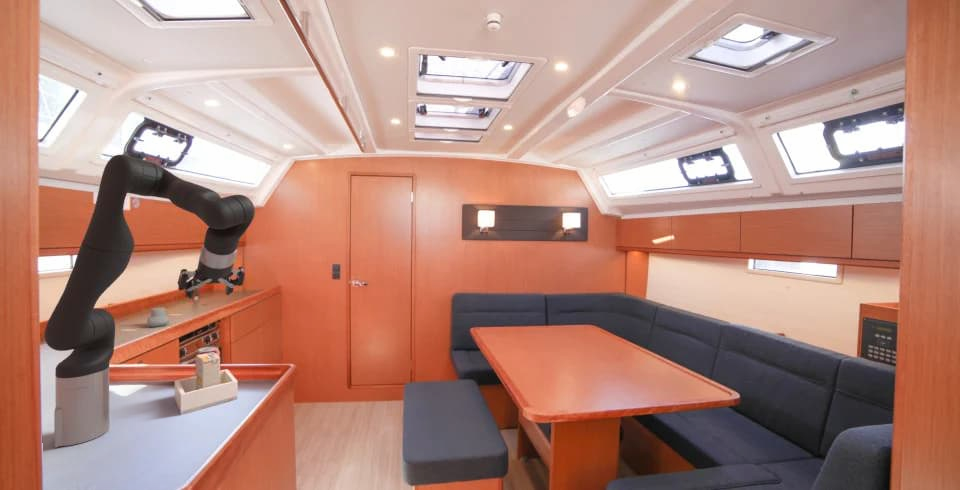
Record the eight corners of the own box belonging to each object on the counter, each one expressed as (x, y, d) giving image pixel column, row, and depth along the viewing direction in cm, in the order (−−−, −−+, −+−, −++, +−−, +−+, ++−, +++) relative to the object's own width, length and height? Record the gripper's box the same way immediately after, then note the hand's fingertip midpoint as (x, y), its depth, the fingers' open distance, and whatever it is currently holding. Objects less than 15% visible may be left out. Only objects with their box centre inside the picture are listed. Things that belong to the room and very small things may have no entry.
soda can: (206, 386, 120) (206, 353, 120) (190, 384, 121) (190, 351, 121) (225, 378, 127) (225, 346, 127) (209, 376, 128) (209, 345, 128)
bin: (180, 415, 101) (181, 395, 101) (174, 399, 111) (174, 380, 110) (237, 399, 112) (237, 381, 111) (227, 385, 121) (227, 369, 121)
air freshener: (169, 326, 193) (169, 308, 193) (149, 329, 187) (149, 311, 187) (166, 322, 200) (166, 305, 200) (147, 325, 194) (147, 307, 194)
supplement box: (220, 397, 111) (221, 357, 110) (202, 402, 107) (202, 361, 107) (213, 389, 116) (213, 351, 116) (195, 394, 112) (195, 354, 112)
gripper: (247, 246, 97) (236, 282, 105) (181, 246, 87) (174, 286, 95) (252, 266, 94) (240, 301, 102) (184, 269, 83) (177, 308, 91)
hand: (209, 294), depth 98 cm, fingers open, 8 cm apart
